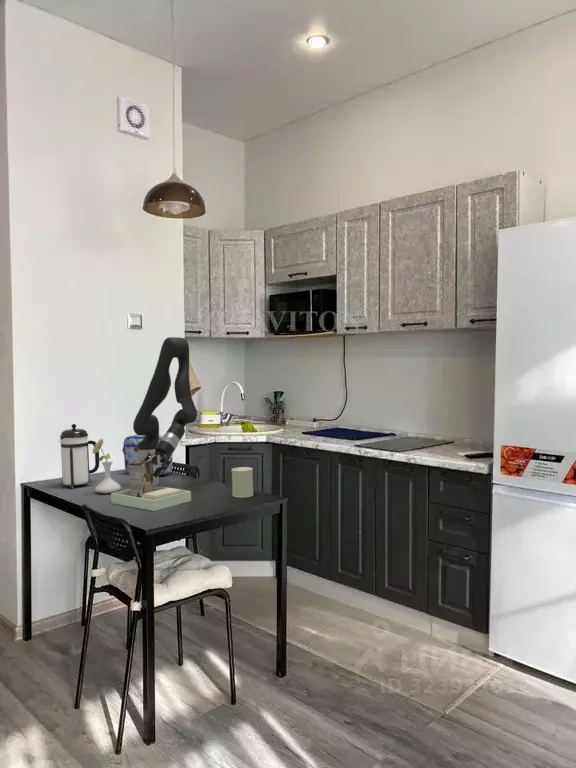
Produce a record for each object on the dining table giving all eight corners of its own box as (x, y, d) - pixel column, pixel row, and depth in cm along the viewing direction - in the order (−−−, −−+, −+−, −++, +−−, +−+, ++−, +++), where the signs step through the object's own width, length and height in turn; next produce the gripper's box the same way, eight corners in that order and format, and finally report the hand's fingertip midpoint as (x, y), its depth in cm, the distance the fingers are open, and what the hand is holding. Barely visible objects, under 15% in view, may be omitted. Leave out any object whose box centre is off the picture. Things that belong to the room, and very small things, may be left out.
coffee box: (140, 497, 266) (139, 460, 265) (154, 498, 264) (152, 460, 264) (129, 502, 257) (128, 463, 256) (143, 503, 255) (142, 464, 255)
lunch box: (119, 475, 325) (118, 433, 324) (131, 471, 335) (130, 430, 334) (164, 477, 315) (162, 434, 314) (175, 474, 324) (174, 432, 323)
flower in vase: (108, 488, 291) (105, 435, 290) (126, 490, 286) (124, 436, 285) (86, 494, 280) (84, 439, 279) (105, 496, 274) (103, 440, 273)
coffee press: (88, 489, 292) (86, 425, 291) (54, 489, 292) (52, 425, 291) (100, 481, 309) (98, 421, 308) (68, 482, 310) (66, 422, 308)
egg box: (142, 506, 250) (142, 493, 249) (169, 499, 261) (168, 487, 261) (156, 508, 245) (155, 496, 245) (182, 501, 256) (182, 489, 256)
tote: (111, 505, 257) (111, 493, 257) (149, 496, 273) (148, 484, 273) (153, 513, 241) (153, 500, 241) (191, 503, 257) (190, 491, 257)
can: (233, 493, 274) (232, 466, 274) (254, 492, 274) (253, 465, 273) (230, 498, 265) (230, 469, 264) (252, 497, 265) (251, 469, 264)
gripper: (151, 438, 274) (131, 468, 266) (174, 440, 266) (154, 471, 257) (161, 449, 279) (142, 479, 270) (183, 451, 270) (164, 482, 261)
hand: (147, 475), depth 264 cm, fingers open, 8 cm apart
